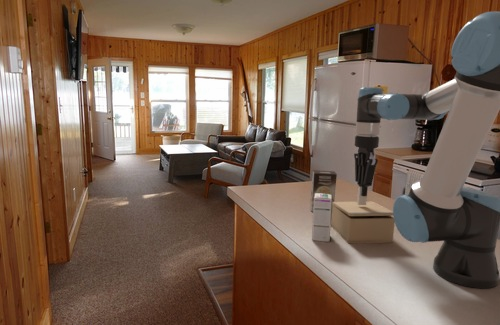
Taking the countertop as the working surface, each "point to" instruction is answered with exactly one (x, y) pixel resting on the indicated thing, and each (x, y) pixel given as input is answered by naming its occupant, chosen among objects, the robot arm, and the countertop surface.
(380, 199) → the countertop surface
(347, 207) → the box lid
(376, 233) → the cardboard box
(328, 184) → the coffee box
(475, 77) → the robot arm
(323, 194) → the syrup box
